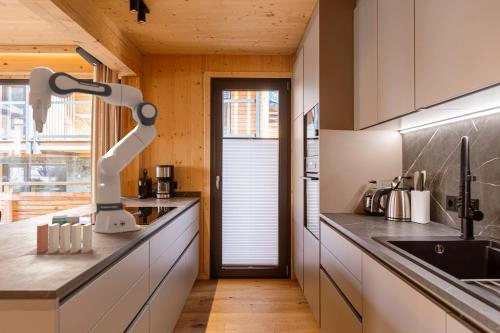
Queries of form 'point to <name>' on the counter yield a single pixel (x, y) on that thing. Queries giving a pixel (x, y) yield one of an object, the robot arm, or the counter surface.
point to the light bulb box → (66, 221)
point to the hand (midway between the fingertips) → (39, 131)
